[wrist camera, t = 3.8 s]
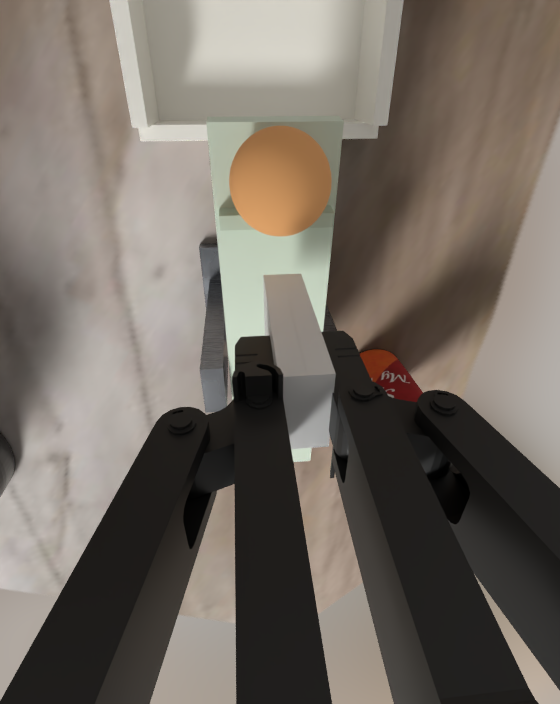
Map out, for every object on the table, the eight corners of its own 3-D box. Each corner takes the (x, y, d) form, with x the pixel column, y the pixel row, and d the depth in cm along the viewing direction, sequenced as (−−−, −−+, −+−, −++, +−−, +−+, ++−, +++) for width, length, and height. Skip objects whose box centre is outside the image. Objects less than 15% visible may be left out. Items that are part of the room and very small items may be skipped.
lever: (236, 393, 33) (238, 476, 27) (212, 91, 20) (205, 127, 14) (297, 389, 34) (312, 470, 28) (313, 91, 20) (348, 126, 14)
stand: (210, 336, 34) (201, 444, 24) (200, 244, 30) (183, 329, 20) (315, 331, 35) (349, 433, 25) (320, 240, 31) (364, 320, 21)
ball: (231, 204, 17) (233, 258, 15) (224, 108, 14) (225, 156, 12) (317, 202, 17) (332, 255, 15) (328, 107, 14) (348, 154, 12)
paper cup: (374, 323, 35) (443, 443, 24) (427, 366, 39) (511, 490, 27) (313, 381, 38) (348, 513, 27) (367, 416, 42) (419, 547, 30)
